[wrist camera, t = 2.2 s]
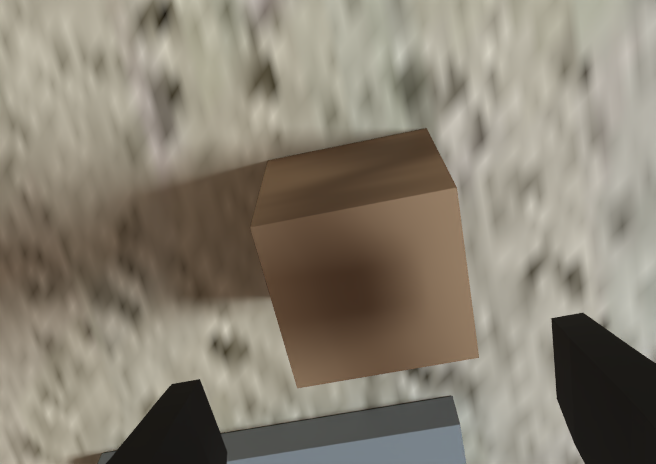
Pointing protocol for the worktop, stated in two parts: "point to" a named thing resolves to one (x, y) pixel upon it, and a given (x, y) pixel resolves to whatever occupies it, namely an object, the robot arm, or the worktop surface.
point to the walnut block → (365, 259)
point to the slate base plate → (355, 438)
